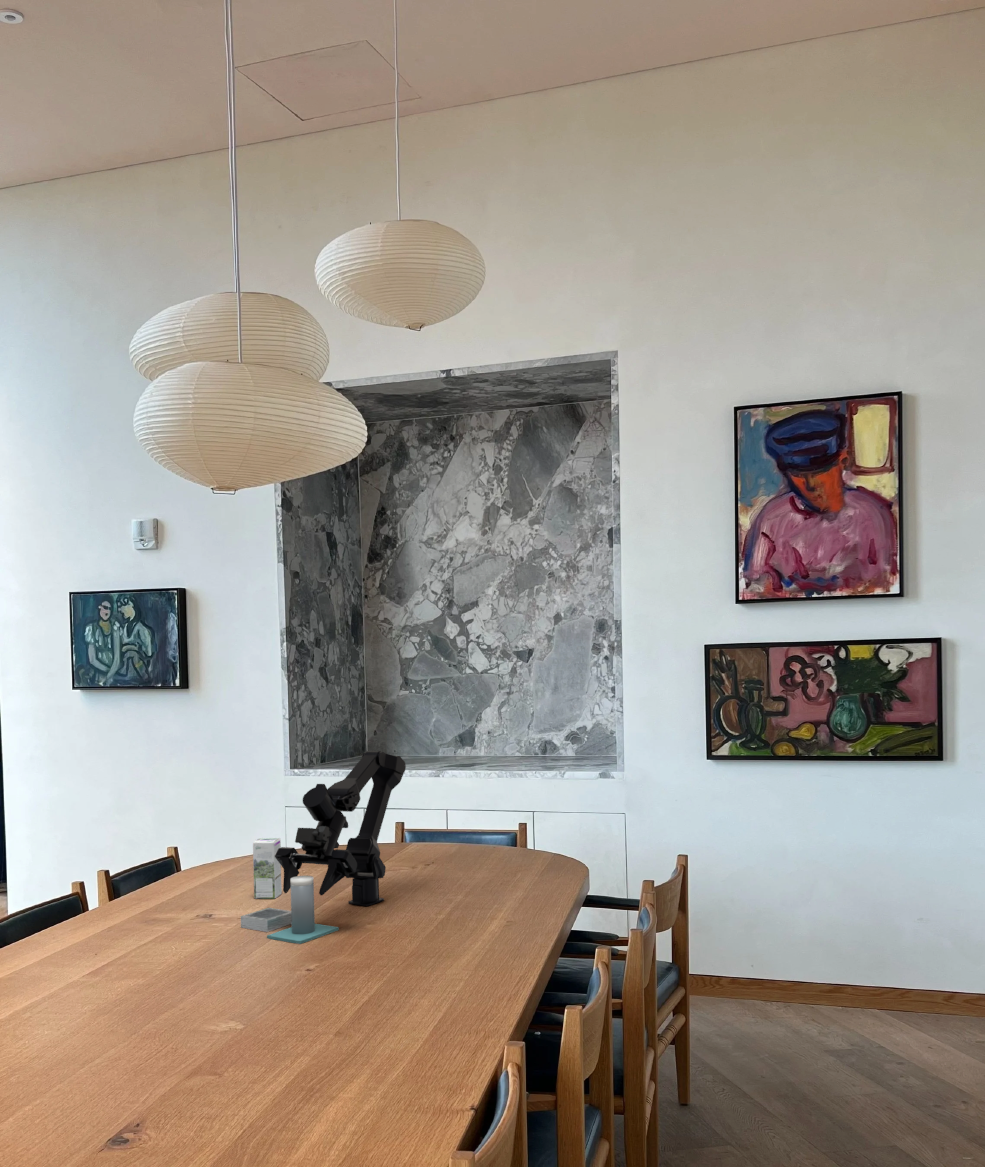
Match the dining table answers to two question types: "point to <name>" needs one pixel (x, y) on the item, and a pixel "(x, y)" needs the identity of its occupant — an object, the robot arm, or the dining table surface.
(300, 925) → the ball
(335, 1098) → the dining table surface
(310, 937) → the mat
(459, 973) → the dining table surface
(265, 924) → the collar
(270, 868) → the syrup box
